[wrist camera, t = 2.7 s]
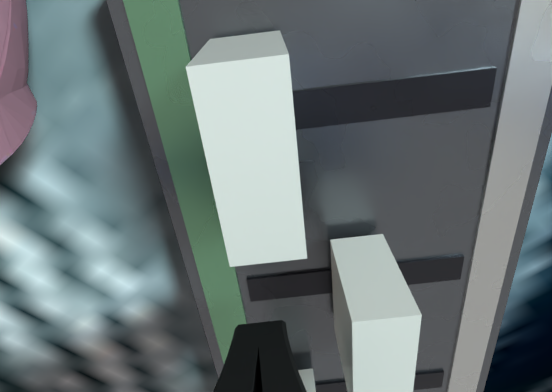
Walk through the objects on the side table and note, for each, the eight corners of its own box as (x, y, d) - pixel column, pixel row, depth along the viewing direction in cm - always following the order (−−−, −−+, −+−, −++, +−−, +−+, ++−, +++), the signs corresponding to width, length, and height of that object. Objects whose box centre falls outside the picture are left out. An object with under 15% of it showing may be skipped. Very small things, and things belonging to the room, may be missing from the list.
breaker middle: (382, 233, 11) (422, 314, 9) (379, 325, 13) (410, 415, 11) (330, 239, 12) (351, 321, 9) (334, 330, 13) (353, 420, 11)
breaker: (279, 30, 9) (289, 53, 6) (295, 185, 11) (307, 258, 8) (210, 39, 9) (184, 66, 6) (238, 191, 11) (229, 266, 8)
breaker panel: (561, -81, 9) (614, -92, 8) (460, 390, 19) (476, 423, 17) (120, -24, 10) (97, -25, 8) (239, 412, 19) (237, 446, 18)
